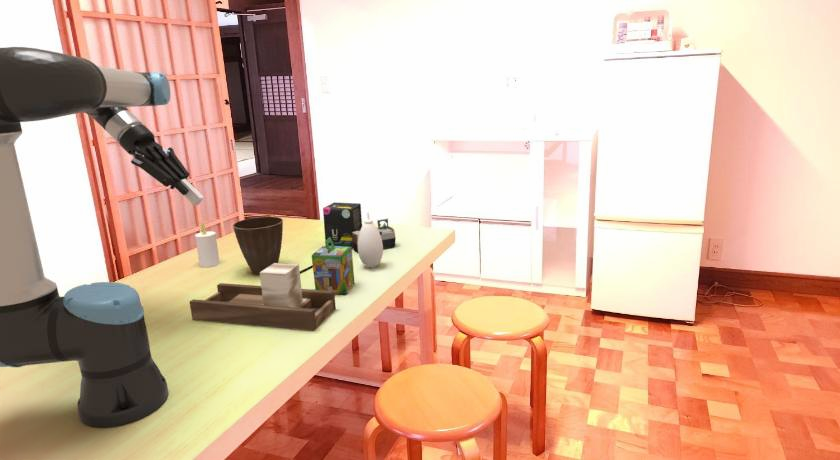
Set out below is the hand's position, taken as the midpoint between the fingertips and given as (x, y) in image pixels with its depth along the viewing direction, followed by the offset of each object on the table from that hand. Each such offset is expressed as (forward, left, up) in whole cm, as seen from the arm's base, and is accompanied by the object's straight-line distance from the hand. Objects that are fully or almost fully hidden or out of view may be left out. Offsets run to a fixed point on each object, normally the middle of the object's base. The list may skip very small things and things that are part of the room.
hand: (199, 201), depth 136 cm
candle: (+35, +27, -30) cm, 54 cm away
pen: (+34, -8, -31) cm, 46 cm away
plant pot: (+32, +5, -30) cm, 44 cm away
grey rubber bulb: (+41, -28, -30) cm, 58 cm away
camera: (+59, -23, -30) cm, 70 cm away
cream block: (+2, -19, -27) cm, 33 cm away
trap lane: (+2, -12, -30) cm, 32 cm away
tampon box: (+62, -10, -30) cm, 70 cm away
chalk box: (+22, -24, -30) cm, 44 cm away
